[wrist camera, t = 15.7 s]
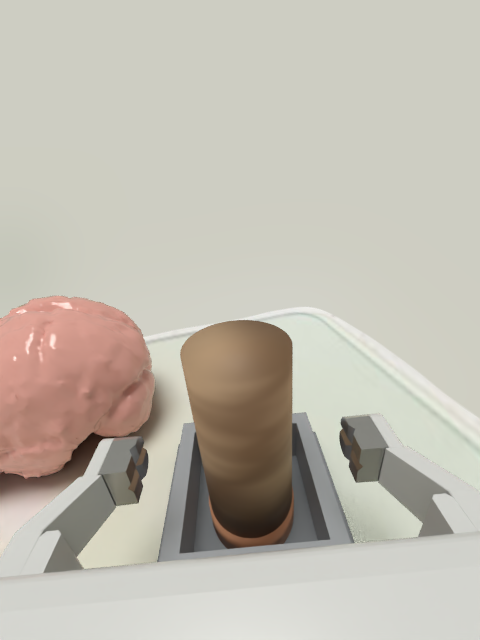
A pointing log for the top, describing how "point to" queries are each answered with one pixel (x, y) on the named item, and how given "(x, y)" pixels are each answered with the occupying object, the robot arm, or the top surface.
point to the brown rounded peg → (244, 428)
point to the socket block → (309, 502)
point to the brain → (68, 381)
